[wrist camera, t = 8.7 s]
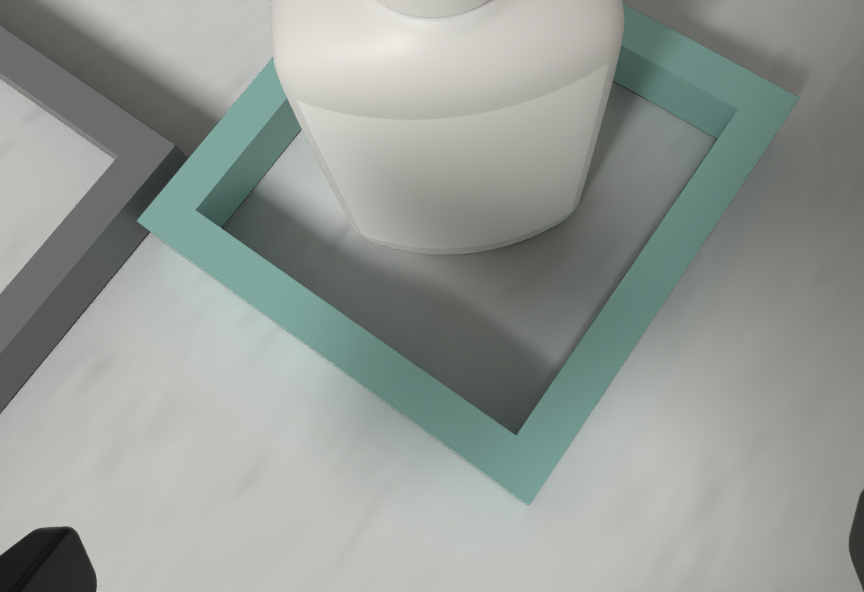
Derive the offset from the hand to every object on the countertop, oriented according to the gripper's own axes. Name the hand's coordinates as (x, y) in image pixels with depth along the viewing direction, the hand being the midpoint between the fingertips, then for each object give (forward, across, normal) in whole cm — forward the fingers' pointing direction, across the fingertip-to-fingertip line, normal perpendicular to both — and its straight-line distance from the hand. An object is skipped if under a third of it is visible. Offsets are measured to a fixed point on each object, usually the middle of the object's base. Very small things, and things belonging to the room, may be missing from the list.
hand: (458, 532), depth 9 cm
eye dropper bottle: (+12, 0, 0) cm, 12 cm away
